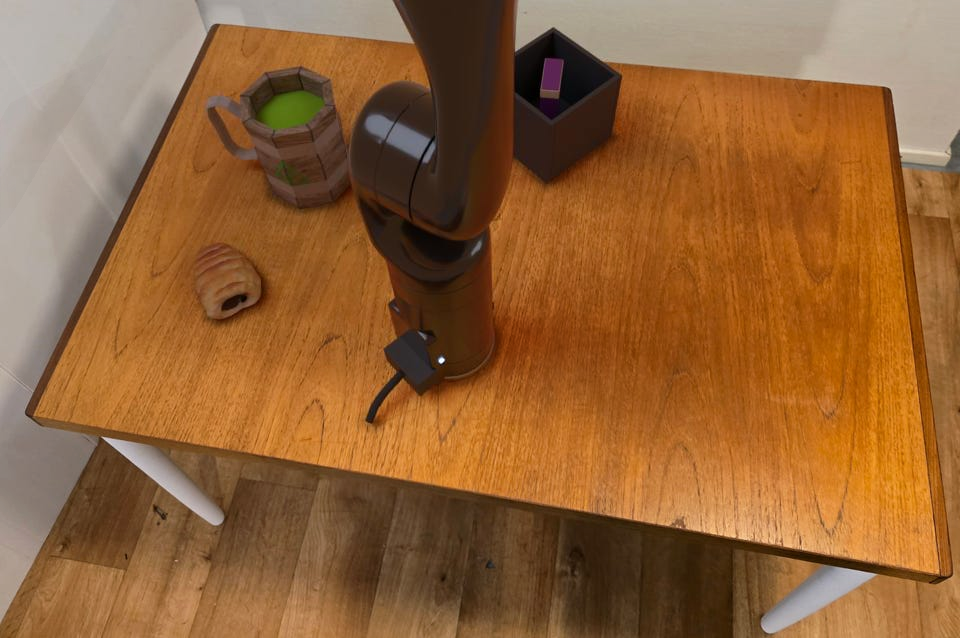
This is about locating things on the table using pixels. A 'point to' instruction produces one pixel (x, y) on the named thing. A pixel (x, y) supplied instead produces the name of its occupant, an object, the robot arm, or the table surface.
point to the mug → (290, 134)
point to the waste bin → (562, 105)
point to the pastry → (224, 280)
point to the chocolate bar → (551, 87)
